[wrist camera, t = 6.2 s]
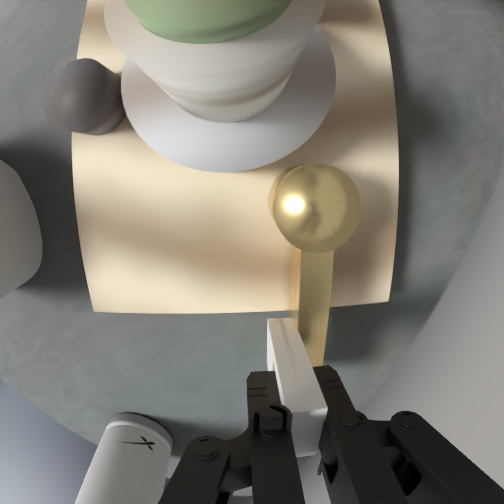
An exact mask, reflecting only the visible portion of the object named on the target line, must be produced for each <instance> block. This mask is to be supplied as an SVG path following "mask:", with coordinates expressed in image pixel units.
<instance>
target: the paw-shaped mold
mask: <svg viewBox="0 0 504 504" xmlns="http://www.w3.org/2000/svg"><path fill="white" fill-rule="evenodd" d="M42 251H43V245H42V236H41V230H40V226H39V222H38V218H37V214H36V211H35V208H34V205H33V203H32V200H31V198H30V196H29V194H28V192H27V190H26V188H25V186H24V184H23V182H22V181H21V179H20V177H19V175H18V174H17V172H16V171H15V170H14V169H13V168H12V167H10V166H9V165H8V164H6V163H5V162H3V161H2V160H0V299H1V298H2V297H4V296H5V295H7V294H8V293H10V292H11V291H13V290H14V289H16V288H17V287H19V286H20V285H22V284H24V283H25V282H27V281H28V280H29V279H31V278H32V277H33V276H34V275H35V273H36V272H37V270H38V269H39V266H40V263H41V259H42Z"/></svg>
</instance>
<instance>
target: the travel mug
mask: <svg viewBox="0 0 504 504" xmlns="http://www.w3.org/2000/svg"><path fill="white" fill-rule="evenodd" d="M172 445H173V441H172V438H171V436H170V434H169V433H168V432H167V431H166V430H165V429H164V428H163V427H162V426H161V425H159V424H158V423H156V422H155V421H153V420H151V419H148V418H146V417H143V416H140V415H136V414H131V413H121V414H117V415H115V416H113V417H112V418H111V419H110V421H109V423H108V425H107V428H106V430H105V432H104V434H103V437H102V439H101V441H100V443H99V446H98V448H97V450H96V453H95V455H94V457H93V460H92V462H91V465H90V467H89V469H88V472H87V474H86V477H85V479H84V482H83V484H82V487H81V489H80V492H79V494H78V497H77V499H76V502H75V504H158V502H159V500H160V498H161V496H162V493H163V488H164V483H165V478H166V474H167V469H168V464H169V459H170V454H171V450H172Z"/></svg>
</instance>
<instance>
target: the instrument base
mask: <svg viewBox="0 0 504 504" xmlns="http://www.w3.org/2000/svg"><path fill="white" fill-rule="evenodd" d="M45 112H46V116H47V118H48V120H49V122H50V123H51V125H52V126H54V127H55V128H57V129H59V130H63V131H70V132H72V167H73V185H74V197H75V208H76V217H77V225H78V232H79V239H80V246H81V252H82V258H83V263H84V269H85V274H86V279H87V283H88V288H89V293H90V297H91V301H92V305H93V309H94V312H118V313H235V312H261V311H281V310H289V285H290V243H289V242H288V241H287V240H286V239H285V238H284V236H283V235H282V233H281V232H280V230H279V228H278V227H277V225H276V223H275V222H274V220H273V218H272V216H271V214H270V211H269V206H268V196H269V191H270V188H271V186H272V184H273V182H274V181H275V179H276V178H277V177H278V176H279V175H280V174H281V173H282V172H283V171H285V170H286V169H288V168H291V167H294V166H298V165H306V164H327V165H331V166H334V167H336V168H338V169H340V170H342V171H343V172H344V173H346V174H347V175H348V176H349V177H350V178H351V179H352V181H353V182H354V184H355V185H356V187H357V189H358V192H359V195H360V198H361V217H360V221H359V224H358V226H357V228H356V230H355V232H354V233H353V235H352V236H351V237H350V239H349V240H348V241H347V242H346V243H344V244H343V245H342V246H340V247H338V248H337V249H335V250H334V258H333V272H332V285H331V297H330V307H338V306H350V305H360V304H370V303H380V302H388V301H389V295H390V288H391V280H392V273H393V264H394V255H395V244H396V232H397V216H398V190H399V153H398V128H397V113H396V101H395V91H394V82H393V74H392V67H391V60H390V54H389V48H388V42H387V37H386V32H385V27H384V22H383V18H382V13H381V9H380V5H379V1H378V0H88V1H87V6H86V10H85V14H84V19H83V24H82V29H81V35H80V41H79V47H78V54H77V60H75V61H73V62H71V63H69V64H68V65H66V66H65V67H64V68H63V69H61V70H60V72H59V73H58V74H57V75H56V76H55V78H54V79H53V81H52V83H51V84H50V87H49V89H48V92H47V95H46V100H45Z"/></svg>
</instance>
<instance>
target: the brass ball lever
mask: <svg viewBox="0 0 504 504" xmlns="http://www.w3.org/2000/svg"><path fill="white" fill-rule="evenodd" d="M268 206H269V211H270V214H271V216H272V218H273V220H274V222H275V223H276V225H277V227H278V228H279V230H280V232H281V233H282V235H283V236H284V238H285V239H286V240H287V241H288V242H289V243H290V285H289V314H288V318H293V321H294V324H295V326H296V329H297V332H299V334H300V336H301V339H302V341H303V344H304V347H305V349H306V352H307V354H308V357H309V360H310V362H311V365H312V367H316V366H322V365H323V358H324V351H325V343H326V335H327V326H328V317H329V307H330V297H331V285H332V272H333V258H334V250H335V249H337V248H338V247H340V246H342V245H343V244H344V243H346V242H347V241H348V240H349V239H350V237H351V236H352V235H353V233H354V232H355V230H356V228H357V226H358V224H359V221H360V217H361V198H360V195H359V192H358V189H357V187H356V185H355V184H354V182H353V181H352V179H351V178H350V177H349V176H348V175H347V174H346V173H344V172H343V171H342V170H340V169H338V168H336V167H334V166H331V165H327V164H306V165H298V166H294V167H291V168H288V169H286V170H285V171H283V172H282V173H281V174H280V175H279V176H278V177H277V178H276V179H275V181H274V182H273V184H272V186H271V188H270V191H269V196H268Z"/></svg>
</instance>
